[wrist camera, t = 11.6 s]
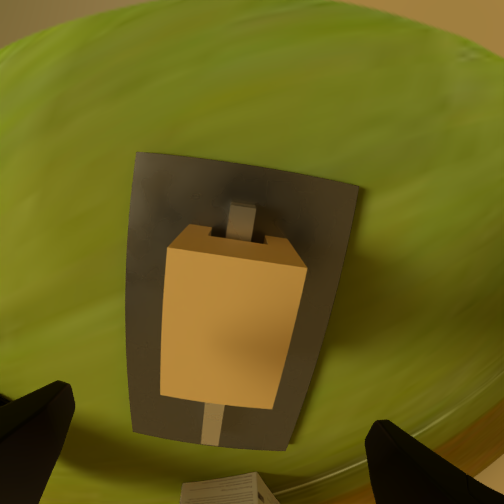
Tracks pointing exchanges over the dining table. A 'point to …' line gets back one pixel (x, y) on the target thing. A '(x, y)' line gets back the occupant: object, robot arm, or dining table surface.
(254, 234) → the plate
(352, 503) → the dining table surface
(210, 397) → the block
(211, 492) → the small box
